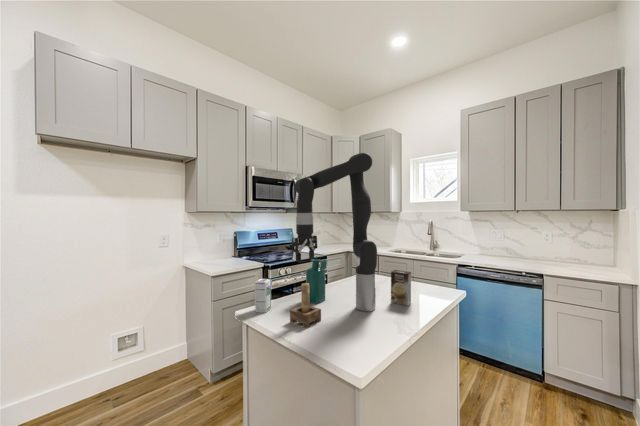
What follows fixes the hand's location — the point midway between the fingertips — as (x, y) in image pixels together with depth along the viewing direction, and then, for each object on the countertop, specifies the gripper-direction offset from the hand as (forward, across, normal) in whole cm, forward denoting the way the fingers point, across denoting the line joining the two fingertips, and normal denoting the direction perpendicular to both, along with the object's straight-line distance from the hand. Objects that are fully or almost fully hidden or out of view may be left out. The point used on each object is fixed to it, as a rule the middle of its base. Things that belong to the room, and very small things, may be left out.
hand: (305, 260), depth 117 cm
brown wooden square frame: (+26, -3, -2) cm, 26 cm away
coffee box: (+27, +46, -25) cm, 59 cm away
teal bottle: (+26, +22, +12) cm, 36 cm away
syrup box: (+26, -5, +23) cm, 35 cm away
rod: (+26, -3, -2) cm, 26 cm away
